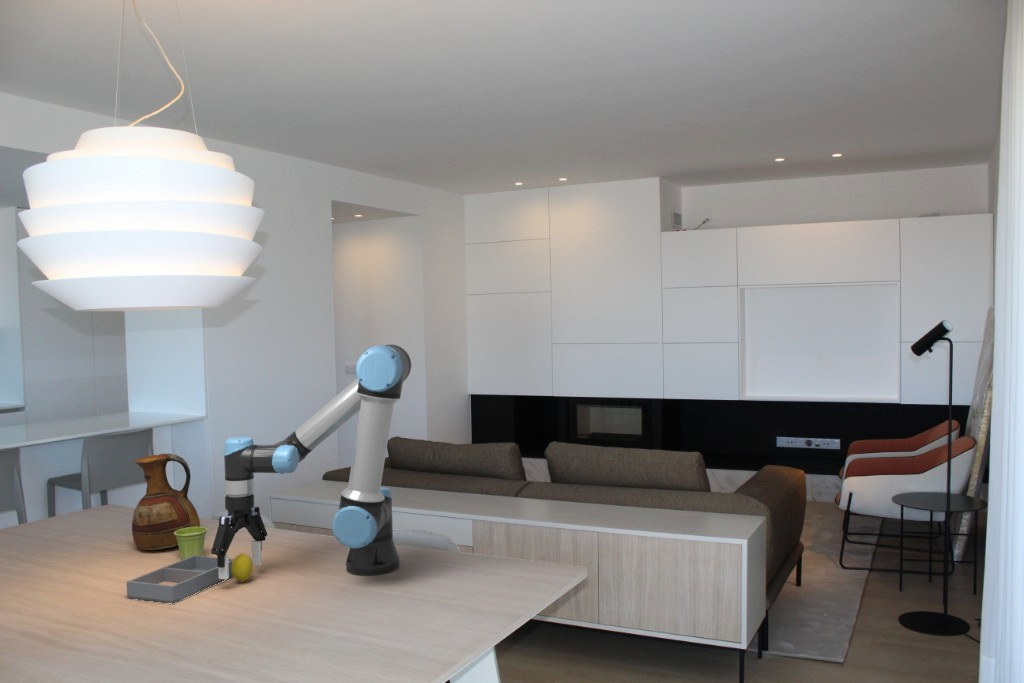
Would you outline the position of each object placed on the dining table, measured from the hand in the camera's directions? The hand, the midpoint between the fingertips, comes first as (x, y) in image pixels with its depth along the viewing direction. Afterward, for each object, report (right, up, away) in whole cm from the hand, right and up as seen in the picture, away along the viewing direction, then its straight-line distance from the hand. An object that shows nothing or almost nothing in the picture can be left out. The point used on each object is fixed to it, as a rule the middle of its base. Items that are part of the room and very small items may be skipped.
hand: (240, 571), depth 223 cm
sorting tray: (-14, -3, -2) cm, 15 cm away
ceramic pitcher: (-36, -3, +39) cm, 53 cm away
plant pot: (-23, -3, +24) cm, 33 cm away
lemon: (0, -3, 0) cm, 3 cm away
